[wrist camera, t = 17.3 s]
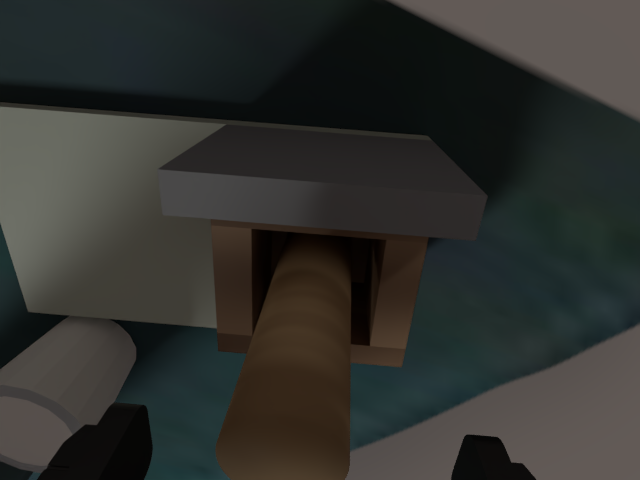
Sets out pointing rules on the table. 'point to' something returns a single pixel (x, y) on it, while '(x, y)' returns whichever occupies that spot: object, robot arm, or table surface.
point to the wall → (323, 183)
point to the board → (107, 213)
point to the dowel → (296, 371)
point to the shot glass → (60, 388)
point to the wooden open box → (366, 285)
